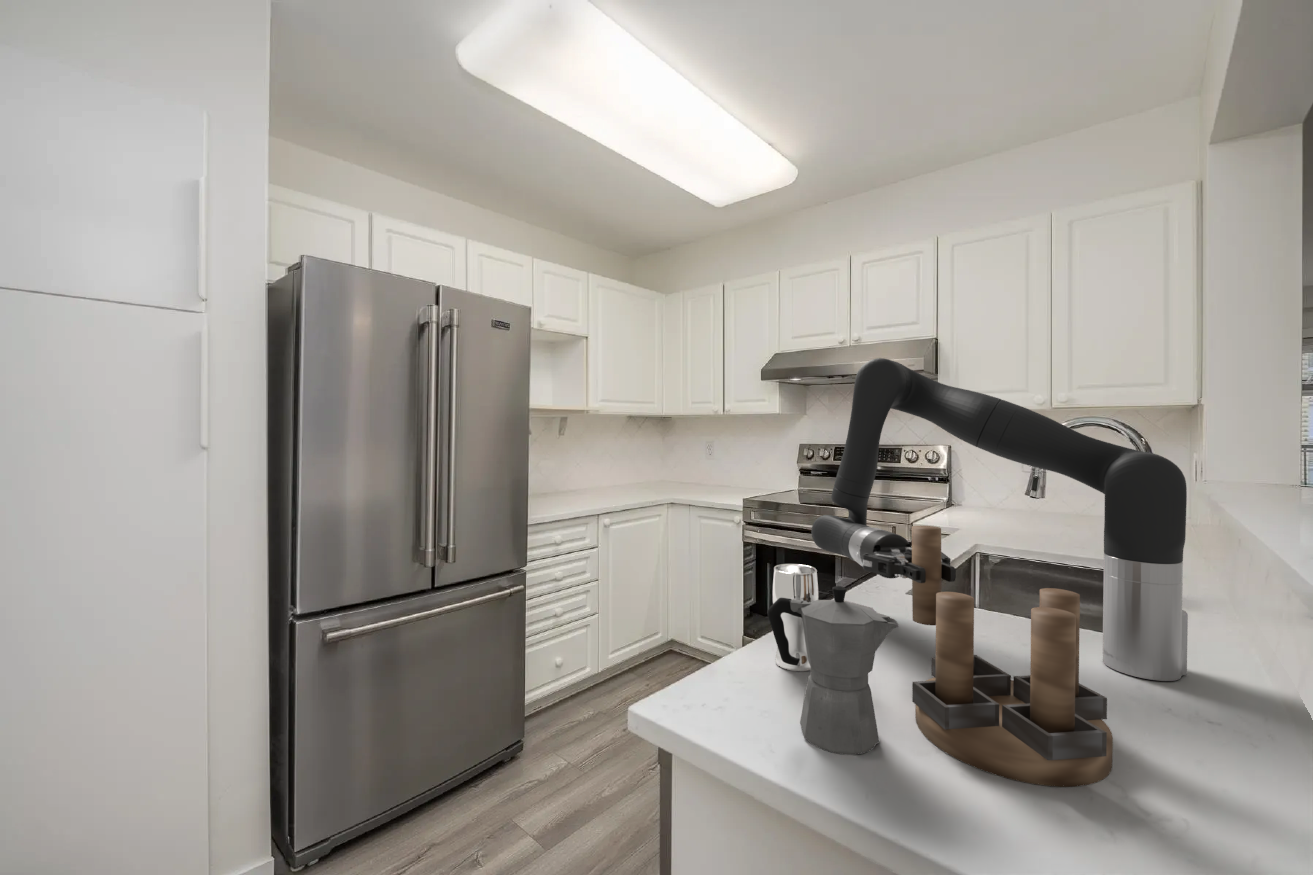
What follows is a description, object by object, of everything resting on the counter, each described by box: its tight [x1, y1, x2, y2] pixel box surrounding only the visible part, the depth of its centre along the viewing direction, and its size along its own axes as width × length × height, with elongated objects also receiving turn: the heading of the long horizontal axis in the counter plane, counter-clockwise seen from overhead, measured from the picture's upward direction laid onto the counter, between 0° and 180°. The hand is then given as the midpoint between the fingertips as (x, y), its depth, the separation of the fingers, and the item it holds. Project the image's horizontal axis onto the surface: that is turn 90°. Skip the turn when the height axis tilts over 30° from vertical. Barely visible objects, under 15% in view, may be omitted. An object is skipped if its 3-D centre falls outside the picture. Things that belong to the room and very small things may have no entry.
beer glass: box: [772, 563, 819, 672], centre depth 89 cm, size 7×7×15 cm
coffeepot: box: [767, 585, 899, 756], centre depth 69 cm, size 15×9×18 cm, turn 62°
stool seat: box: [911, 587, 1114, 788], centre depth 69 cm, size 20×20×17 cm
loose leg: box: [911, 525, 943, 626], centre depth 85 cm, size 4×4×14 cm
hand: (938, 575), depth 82 cm, fingers closed on loose leg, 4 cm apart
